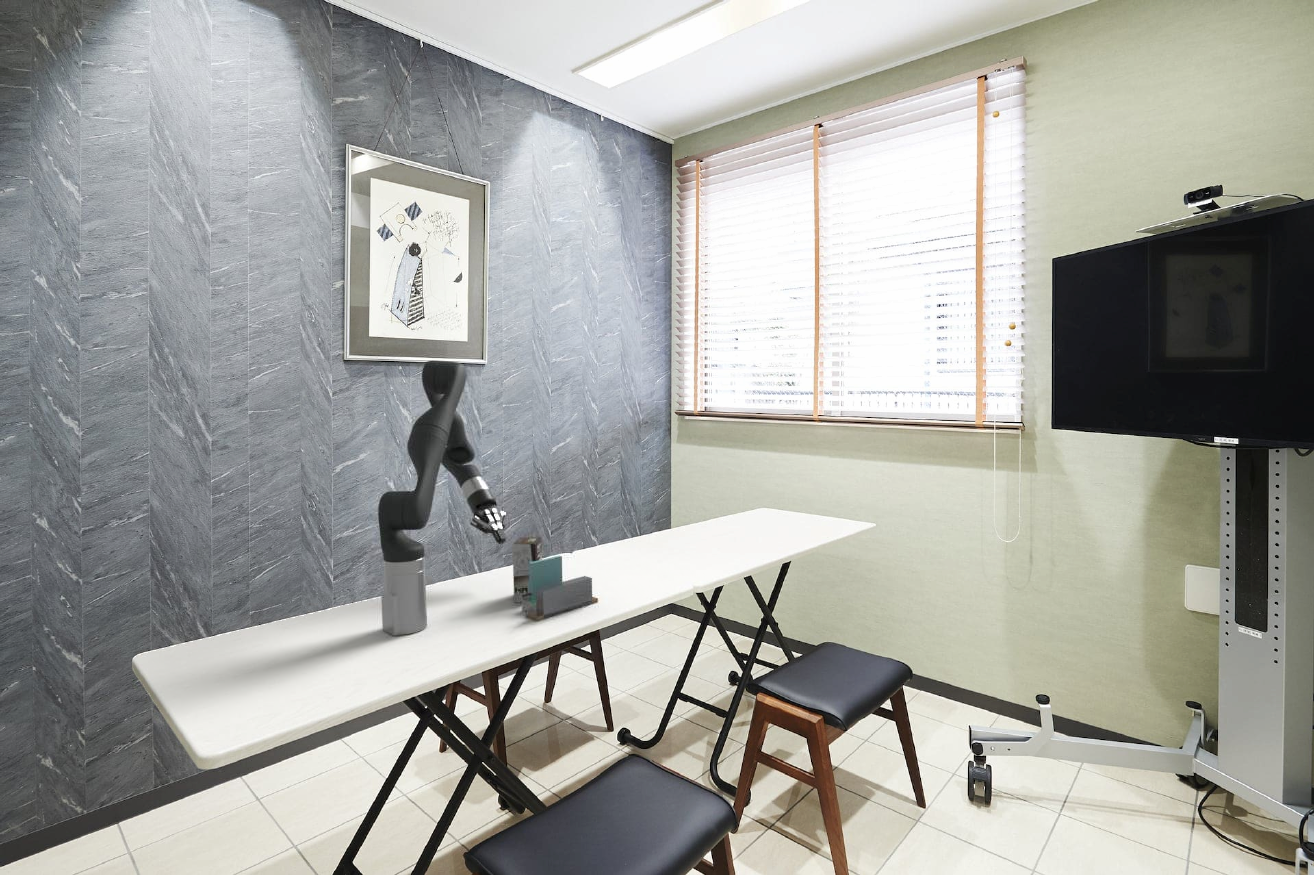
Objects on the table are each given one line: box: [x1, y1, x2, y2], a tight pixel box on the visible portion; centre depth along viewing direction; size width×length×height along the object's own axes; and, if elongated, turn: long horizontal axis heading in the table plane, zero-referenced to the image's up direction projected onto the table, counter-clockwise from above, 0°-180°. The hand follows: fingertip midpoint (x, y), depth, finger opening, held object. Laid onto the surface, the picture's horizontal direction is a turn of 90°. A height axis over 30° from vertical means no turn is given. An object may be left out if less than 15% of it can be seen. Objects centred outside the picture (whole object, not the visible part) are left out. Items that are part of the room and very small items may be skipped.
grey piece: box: [521, 575, 599, 622], centre depth 171 cm, size 20×10×7 cm, turn 137°
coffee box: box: [512, 536, 543, 603], centre depth 179 cm, size 9×6×16 cm
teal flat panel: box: [522, 555, 563, 599], centre depth 173 cm, size 13×1×10 cm, turn 137°
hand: (502, 542), depth 187 cm, fingers closed
